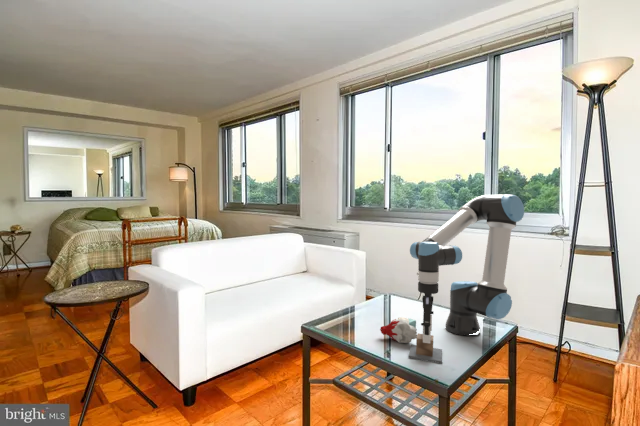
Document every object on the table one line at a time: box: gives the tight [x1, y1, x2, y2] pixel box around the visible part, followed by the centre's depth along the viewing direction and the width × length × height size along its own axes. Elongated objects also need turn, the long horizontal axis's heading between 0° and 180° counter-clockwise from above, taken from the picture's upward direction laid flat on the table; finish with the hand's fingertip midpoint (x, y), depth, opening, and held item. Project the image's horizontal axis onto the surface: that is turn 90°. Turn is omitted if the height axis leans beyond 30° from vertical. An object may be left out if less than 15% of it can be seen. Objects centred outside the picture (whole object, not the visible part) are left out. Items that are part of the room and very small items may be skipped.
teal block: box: [408, 317, 417, 329], centre depth 164 cm, size 4×6×4 cm, turn 132°
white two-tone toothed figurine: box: [379, 318, 418, 344], centre depth 149 cm, size 9×11×15 cm
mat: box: [408, 344, 443, 365], centre depth 134 cm, size 12×12×1 cm
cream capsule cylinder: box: [397, 316, 409, 323], centre depth 159 cm, size 5×5×6 cm
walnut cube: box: [415, 332, 434, 357], centre depth 134 cm, size 6×6×6 cm
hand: (427, 336), depth 134 cm, fingers open, 13 cm apart
